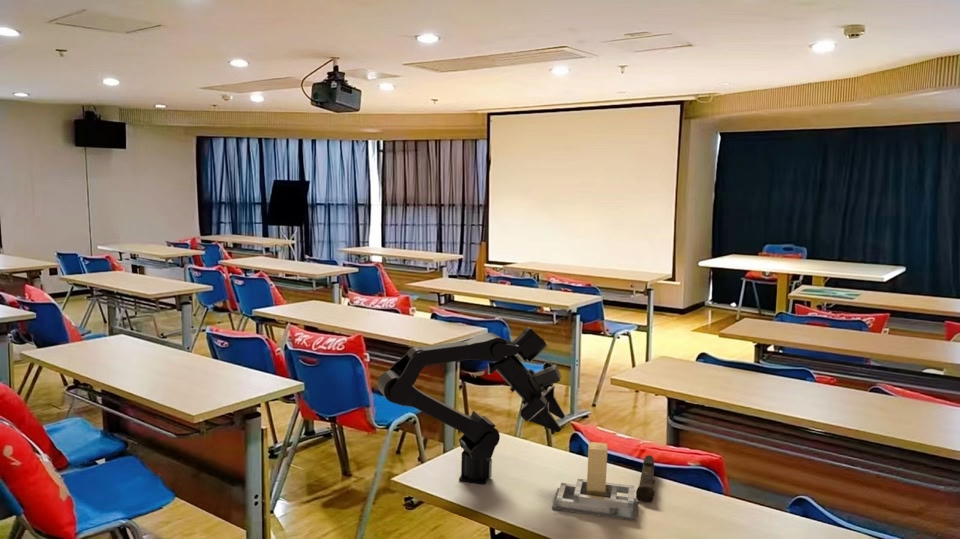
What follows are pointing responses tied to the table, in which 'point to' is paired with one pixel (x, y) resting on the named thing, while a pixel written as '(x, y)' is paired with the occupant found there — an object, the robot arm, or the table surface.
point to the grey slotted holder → (595, 497)
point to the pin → (596, 469)
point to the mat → (618, 513)
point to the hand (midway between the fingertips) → (561, 424)
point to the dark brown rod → (646, 481)
